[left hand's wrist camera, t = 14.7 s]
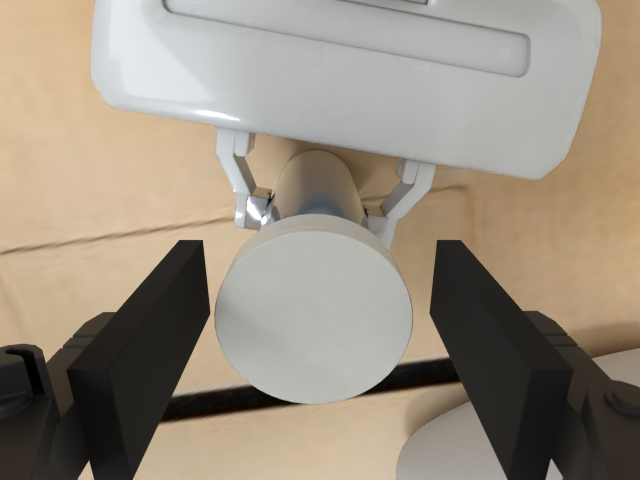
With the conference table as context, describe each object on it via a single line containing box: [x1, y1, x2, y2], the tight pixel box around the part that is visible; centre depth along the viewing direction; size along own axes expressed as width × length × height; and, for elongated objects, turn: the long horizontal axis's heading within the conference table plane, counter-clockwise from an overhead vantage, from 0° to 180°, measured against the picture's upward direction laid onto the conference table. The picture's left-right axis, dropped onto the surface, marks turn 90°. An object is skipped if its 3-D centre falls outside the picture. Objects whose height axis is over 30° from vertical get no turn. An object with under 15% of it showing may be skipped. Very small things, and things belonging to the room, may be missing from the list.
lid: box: [215, 214, 413, 404], centre depth 12 cm, size 6×6×2 cm
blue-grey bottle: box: [258, 150, 373, 234], centre depth 19 cm, size 5×5×16 cm
